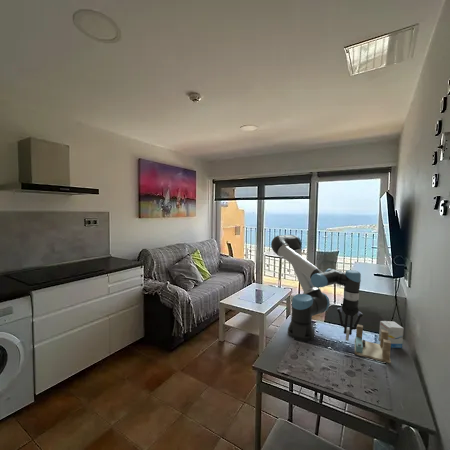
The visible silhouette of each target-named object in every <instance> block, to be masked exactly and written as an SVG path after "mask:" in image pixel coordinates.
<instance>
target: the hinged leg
mask: <svg viewBox="0 0 450 450" xmlns="http://www.w3.org/2000/svg"><path fill="white" fill-rule="evenodd" d="M362 340H363V337H362V338H360V337H356V336H355V338H354V346H355V345H356V352H360V353H363V344H362Z"/></svg>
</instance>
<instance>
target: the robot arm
mask: <svg viewBox="0 0 450 450" xmlns="http://www.w3.org/2000/svg"><path fill="white" fill-rule="evenodd" d="M302 245H303V242H302V239H301V238H300V237H299V236H298V235H295V234H284V235H283V234H282V235H276V236H274V237H273V238H272V240H271V244H270V246H271V250H272V252H274V253H275V255H277V256H278V257H280V258H283V259H285V261H287V262H288V263H289V264H291V266H292V268H293V270H294V273H295V276H296V278H297V279H298V282H299V285H300V286H301V288H302V293H297V294H296V295H294V296H293V297H292V300H291V314H290V315H291V318H290V323H289V325H288V328H287V335H288V336H289V338H291V339H294V340H296V341H300V342H309V341H312V340H314V337H315V333H314V329H313V324H312V323H313V321H312V320H313V319H312V318H313V317H314V316H317V315H320V314H323V313H325V312H326V311H328V310H329V307H330V303H331V302H330V299H329V296H328V295H327V294H325V293H324V292H323V291H322V290H321V288H324V287H329V286H333V285H338V286H339V285H340V286H343V299H342V305H341V307H337V308H336V309H337V310H336V311H337V313H338V315H339V321H340V322H339V323H340V326H341V327H342V328H344V329H343V334H345V341H347V342H349V339H350V336H352V333H353V330H357V325H358V324H359V322H360V320H361V318H362V317H363V312H361V311H359V298H360V287H361V282H362V280H361V277H362V276H361V272H360V271H357V270H352V269H346V271H341V270H338V269H335V268H327V269H326V270H325V271H322V270H321V269H320V268H318V267H317V266H315V264H313V263H312V262H310V261H309V260H307V258H305V257H303V255H302ZM342 312H343V313H344V314H345V315H344V316H345V318H344V319H343V314H342ZM356 315H357V316H356ZM349 316H350V319H348V318H349ZM354 316H356V318H355V321H354ZM348 320H349V326H348ZM353 323H354V324H353Z"/></svg>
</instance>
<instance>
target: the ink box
mask: <svg viewBox="0 0 450 450" xmlns="http://www.w3.org/2000/svg"><path fill="white" fill-rule="evenodd" d="M381 329H382V330H387V331H388V340H389V341H391V349H403V342H404V340H403V338H404V327H403V326H401V325H400V324H398V323H397V322H396V321H391V320H389V321H388V320H380V321H379V332H378V333H379V334H378V341H379V342H380V338H381Z"/></svg>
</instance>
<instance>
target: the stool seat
mask: <svg viewBox="0 0 450 450" xmlns="http://www.w3.org/2000/svg"><path fill="white" fill-rule="evenodd" d="M363 329H364V325H362V324H359V323H358V325H357V327H356V329H355V330H356V334H355V338H356V337H360V338H362V344H363V353H360V352H356V345H355V344H354V355H357V356H361V357H365V358H368V359H373V360H376V361H380V362H383V363H388V364H391V363H392V361H391V349H392V348H391V341H389V340H388V331H387V330H382V329H381V338H380V341H379V343H376V342H371V341H367V340H366V339H363Z"/></svg>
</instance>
